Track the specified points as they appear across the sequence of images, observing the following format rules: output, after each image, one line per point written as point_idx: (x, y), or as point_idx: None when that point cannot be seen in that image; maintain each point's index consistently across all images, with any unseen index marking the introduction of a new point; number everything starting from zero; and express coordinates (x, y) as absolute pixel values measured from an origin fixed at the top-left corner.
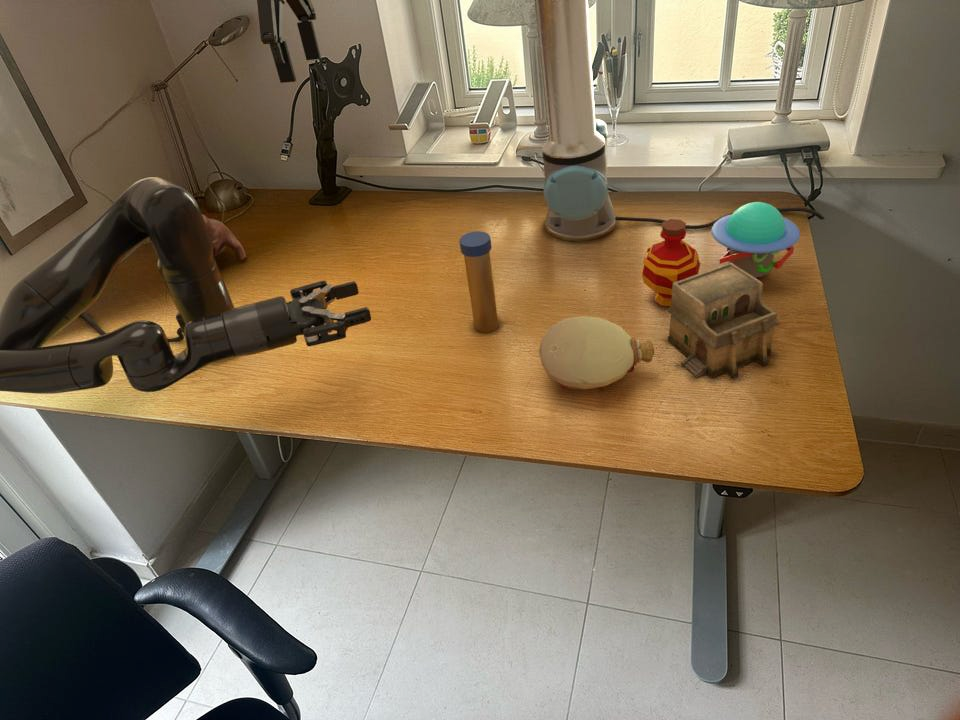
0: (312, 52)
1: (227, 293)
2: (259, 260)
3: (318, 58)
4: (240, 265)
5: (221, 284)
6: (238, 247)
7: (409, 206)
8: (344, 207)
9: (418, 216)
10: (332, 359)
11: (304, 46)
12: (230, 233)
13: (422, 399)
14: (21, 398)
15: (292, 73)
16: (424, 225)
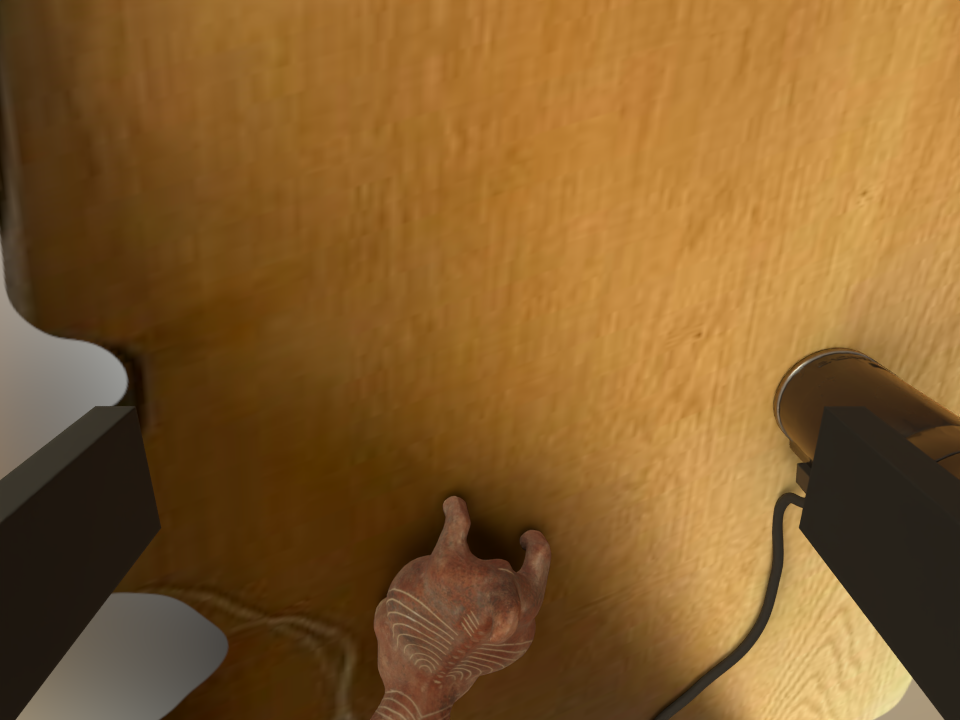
0: (113, 495)
1: (899, 407)
2: (454, 459)
3: (133, 420)
4: (476, 496)
5: (935, 421)
6: (467, 516)
7: (119, 103)
8: (148, 326)
9: (188, 50)
10: (937, 112)
11: (92, 600)
12: (449, 552)
13: None
14: (907, 686)
15: (905, 444)
16: (249, 11)
